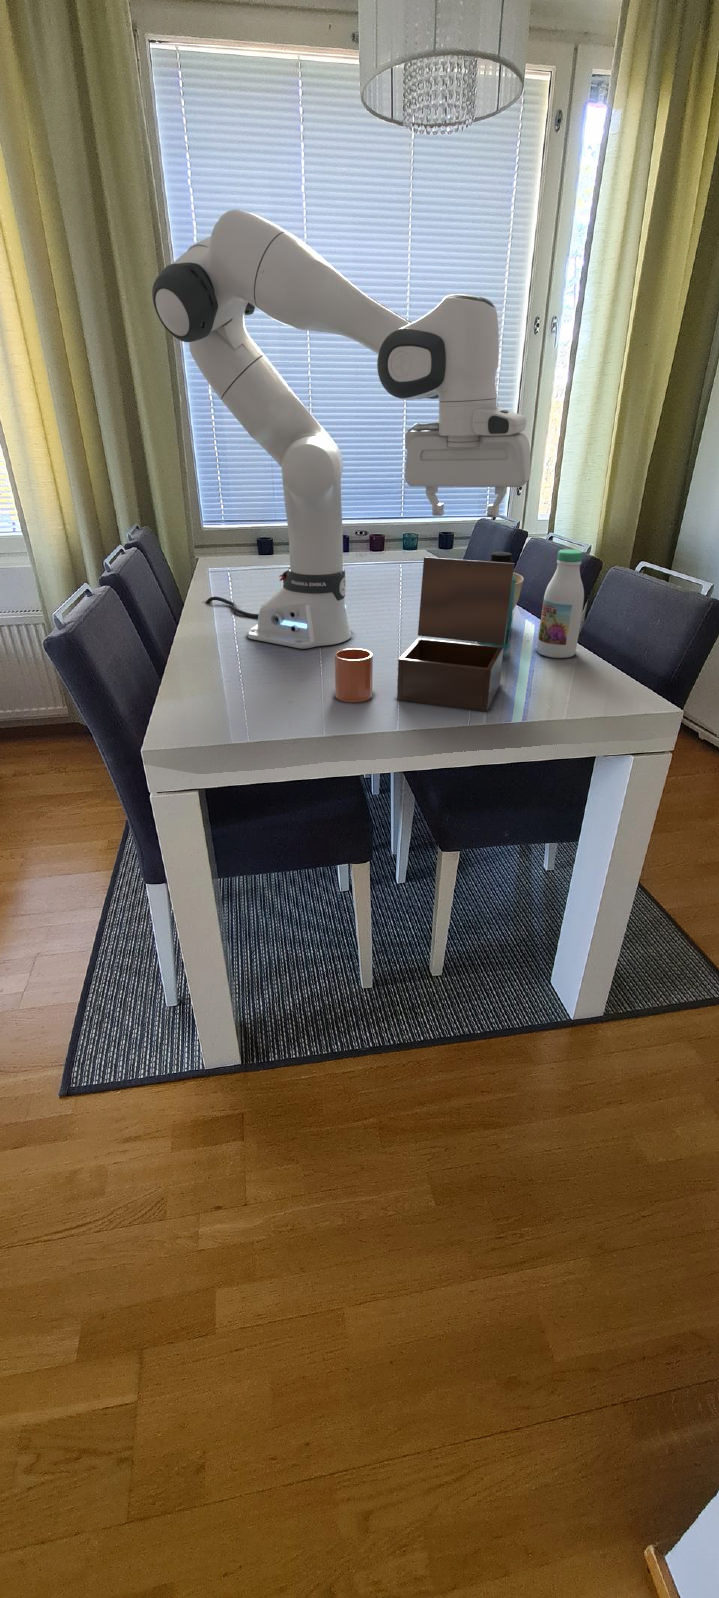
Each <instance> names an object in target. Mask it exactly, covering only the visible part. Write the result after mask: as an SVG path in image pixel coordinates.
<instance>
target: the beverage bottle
mask: <svg viewBox="0 0 719 1598" xmlns="http://www.w3.org/2000/svg"><path fill="white" fill-rule="evenodd" d="M489 562H503V563H513V554H512V553H511V552H507V551H494V552H492V553H491V554H490V560H489ZM515 581H516V577H515V575H514V574H513V579H512V587H511V595H510V603H509V611H508V619H507V627H506V635H505V642H504V644H494V643H484V642H477V644H481V645H490V646H499V647H504V649H503V653H506V652H508V651H509V649H510V646H511V639H512V629H513V627H512V626H513V619H514V618H513V617H514V612H513V611H514V609H513V604H514V590H515Z"/></svg>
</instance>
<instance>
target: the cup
mask: <svg viewBox="0 0 719 1598" xmlns="http://www.w3.org/2000/svg"><path fill="white" fill-rule="evenodd" d="M373 655H374V654H373V652H371V651H370V650H368V649H364V648H358V647H357V648H353V647H352V648H351V647H350V648H344V649H340V650H337V651H336V652H335V653H334V689H335V690H334V691H335V695H334V696H335V698H336V699H337V700H339V701H341V702H345V703H352V704H353V703H362V702H366V701H368V700H370V699H372V698H373V669H374V667H373V665H374V664H373V663H374V662H373V661H374V660H373V659H374V658H373Z"/></svg>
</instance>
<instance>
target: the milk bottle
mask: <svg viewBox="0 0 719 1598" xmlns="http://www.w3.org/2000/svg"><path fill="white" fill-rule="evenodd" d="M583 554H584V552H583V551H582V550H578V549H571V548H570V549H569V548H564V549H560V550H558V551H557V556H556V557H557V560H556V563H557V566H556V570H555V572H554V574H553V576H552V578H551V579H550V581H549V583H548V584H547V586H546V588H545V591H544V596H543V601H542V608H541V616H540V624H539V630H538V637H537V644H536V650H537V653H538V654H540V655H542V656H544V657H549V658H555V659H566V658H570V657H571V658H572V657H573V656H575V654H576V651H577V647H578V641H579V634H580V628H581V622H582V614H583V608H584V600H585V589H584V584H583V582H582V578H581V572H580V571H581V570H580V569H581V568H580V567H581V564H582V561H583V557H584V555H583Z"/></svg>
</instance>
